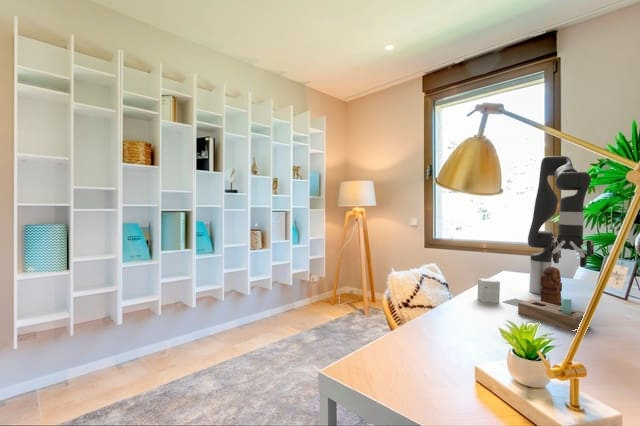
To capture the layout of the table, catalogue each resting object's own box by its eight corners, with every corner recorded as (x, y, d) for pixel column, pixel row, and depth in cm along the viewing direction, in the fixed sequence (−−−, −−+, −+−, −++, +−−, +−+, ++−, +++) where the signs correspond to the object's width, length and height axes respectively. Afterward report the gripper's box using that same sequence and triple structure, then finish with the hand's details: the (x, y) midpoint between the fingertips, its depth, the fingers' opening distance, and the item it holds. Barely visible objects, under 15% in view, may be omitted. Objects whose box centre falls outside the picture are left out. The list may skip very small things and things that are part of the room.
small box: (494, 300, 153) (494, 278, 153) (499, 303, 147) (500, 281, 147) (477, 299, 154) (477, 278, 153) (481, 302, 148) (482, 280, 148)
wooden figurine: (554, 309, 141) (556, 269, 140) (538, 305, 146) (539, 267, 145) (564, 304, 147) (565, 267, 147) (548, 301, 153) (549, 264, 152)
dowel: (563, 322, 125) (564, 297, 125) (572, 324, 122) (573, 299, 122) (559, 323, 123) (560, 298, 123) (568, 326, 121) (569, 300, 121)
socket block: (533, 310, 139) (533, 299, 139) (588, 326, 121) (589, 313, 121) (517, 314, 133) (518, 302, 133) (574, 331, 115) (575, 318, 115)
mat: (515, 299, 155) (515, 298, 155) (542, 306, 145) (542, 305, 145) (501, 302, 149) (501, 301, 149) (528, 310, 139) (528, 309, 139)
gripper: (598, 224, 117) (596, 267, 118) (554, 222, 130) (552, 261, 130) (589, 225, 113) (587, 269, 114) (545, 222, 126) (543, 262, 126)
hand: (568, 265), depth 122 cm, fingers open, 8 cm apart
